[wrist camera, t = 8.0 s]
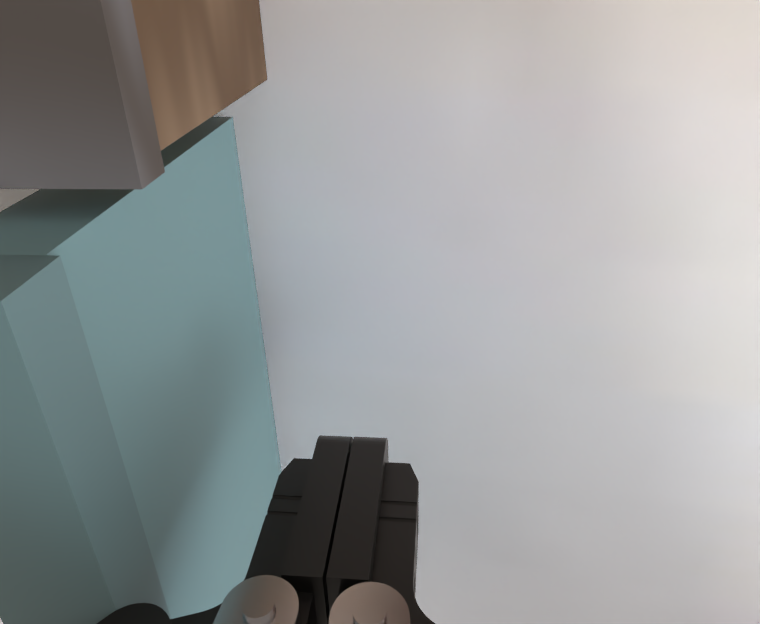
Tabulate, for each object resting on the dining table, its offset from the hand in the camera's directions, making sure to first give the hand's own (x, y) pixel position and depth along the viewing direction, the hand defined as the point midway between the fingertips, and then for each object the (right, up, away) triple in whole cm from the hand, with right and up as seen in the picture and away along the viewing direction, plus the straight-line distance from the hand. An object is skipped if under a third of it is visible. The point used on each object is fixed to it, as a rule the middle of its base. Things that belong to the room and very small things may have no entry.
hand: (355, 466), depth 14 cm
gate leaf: (-4, +1, +6) cm, 7 cm away
